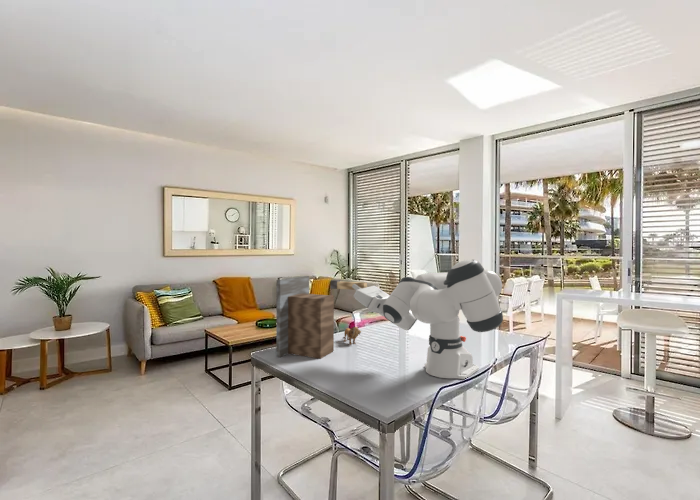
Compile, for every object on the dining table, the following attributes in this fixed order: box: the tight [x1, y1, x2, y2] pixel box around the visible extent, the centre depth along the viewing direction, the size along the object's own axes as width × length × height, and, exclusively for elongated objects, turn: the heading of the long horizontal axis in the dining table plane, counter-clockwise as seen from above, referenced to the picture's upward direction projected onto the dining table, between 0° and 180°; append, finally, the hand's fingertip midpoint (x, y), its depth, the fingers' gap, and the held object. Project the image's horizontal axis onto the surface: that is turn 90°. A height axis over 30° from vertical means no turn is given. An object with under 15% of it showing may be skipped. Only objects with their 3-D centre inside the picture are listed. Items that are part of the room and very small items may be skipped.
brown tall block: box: [276, 275, 335, 359], centre depth 171 cm, size 19×24×34 cm
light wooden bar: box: [330, 279, 368, 291], centre depth 162 cm, size 16×4×4 cm, turn 64°
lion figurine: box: [342, 326, 362, 346], centre depth 189 cm, size 15×5×9 cm, turn 33°
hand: (355, 284), depth 161 cm, fingers closed on light wooden bar, 3 cm apart
